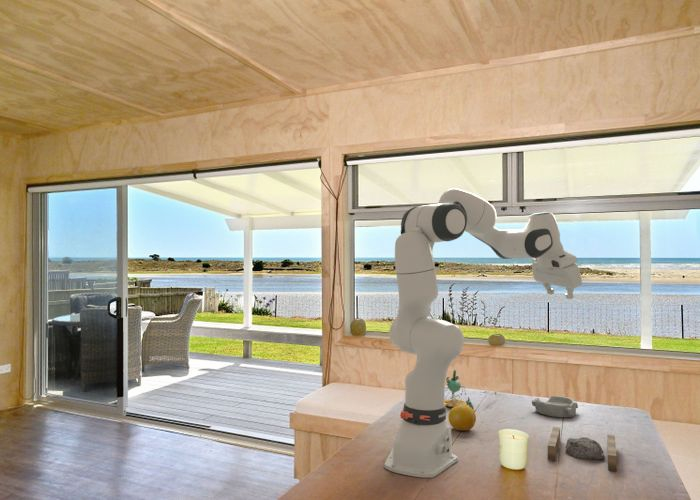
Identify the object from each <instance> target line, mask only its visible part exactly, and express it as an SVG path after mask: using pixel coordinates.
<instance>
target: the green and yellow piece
mask: <svg viewBox="0 0 700 500" xmlns="http://www.w3.org/2000/svg"><path fill="white" fill-rule="evenodd" d="M452 372H453V373H452V377H451V378H450V377H449V376H447V377H446V378H445V383H446V386H447V387H445V392H447V391H448V389H449V391H451V397H449V398H450V399H444V405H445V406H446V407H451V408H453V407H455V406H457V405H467V406H469V407H471V408H472V409H473V410H474V412H475V411H476V410H475V408H474V405H473V403H472V401H471V399H470V397H467V399H465V400H462V399H459V398H461V396H463V392H464V391H466V388H465V386H462V385H461V381H460V377H459V376H458V375H457V370H456V369H454V370H453V371H452ZM456 375H457V376H456ZM463 388H464V389H463ZM460 389H461V393H460V395H459V394H457V395H455V393H457V392H460ZM464 395H465V396H466V395H467V393H466V392H464ZM456 397H459V398H456Z"/></svg>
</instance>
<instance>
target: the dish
mask: <svg viewBox="0 0 700 500" xmlns="http://www.w3.org/2000/svg"><path fill="white" fill-rule="evenodd" d="M531 404H532V406H533V407H535V411H536V412H537V413H539V414H541V415H544V416H547V417H548V416H549V417H553V418H571V417H573V416H575V415H576V413H577V409H578V408H579V405H578V402H577V401H574V400H573V399H572V398H570V397H566V396H561V395H551V396H550V397H549V399H548V400H547V401H542V400H541V399H540V398H539V397H537V396H536V397H535V398H534V399H531Z"/></svg>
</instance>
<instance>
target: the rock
mask: <svg viewBox="0 0 700 500" xmlns="http://www.w3.org/2000/svg"><path fill="white" fill-rule="evenodd" d="M564 448H565V453H564V454H567V455H568V456H570V457H573V458H576V459H584V460H601V459H604V458H605V454H604V451H603V448H602V447H601V445H600V443H599V442H597V440H594V439H591V438H589V437H580V438H573V437H571V438H570V437H569V438H568V439H567V440H566V444H565V447H564Z"/></svg>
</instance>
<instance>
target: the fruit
mask: <svg viewBox="0 0 700 500" xmlns="http://www.w3.org/2000/svg"><path fill="white" fill-rule="evenodd" d="M474 410H475V409H474ZM474 410H473V409H472V408H471V407H469V405H457V406H455V407H453V406H452V407H451V409H449V412H448V416H447V417H448V423H449V424H450V425H451V427H452V428H453V429H455V430H456V431H460V432H461V431H462V432H465V431H469V430H471V429H473V428H474V427H475V424H476V421H477V416H476V412H475V411H474Z"/></svg>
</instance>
